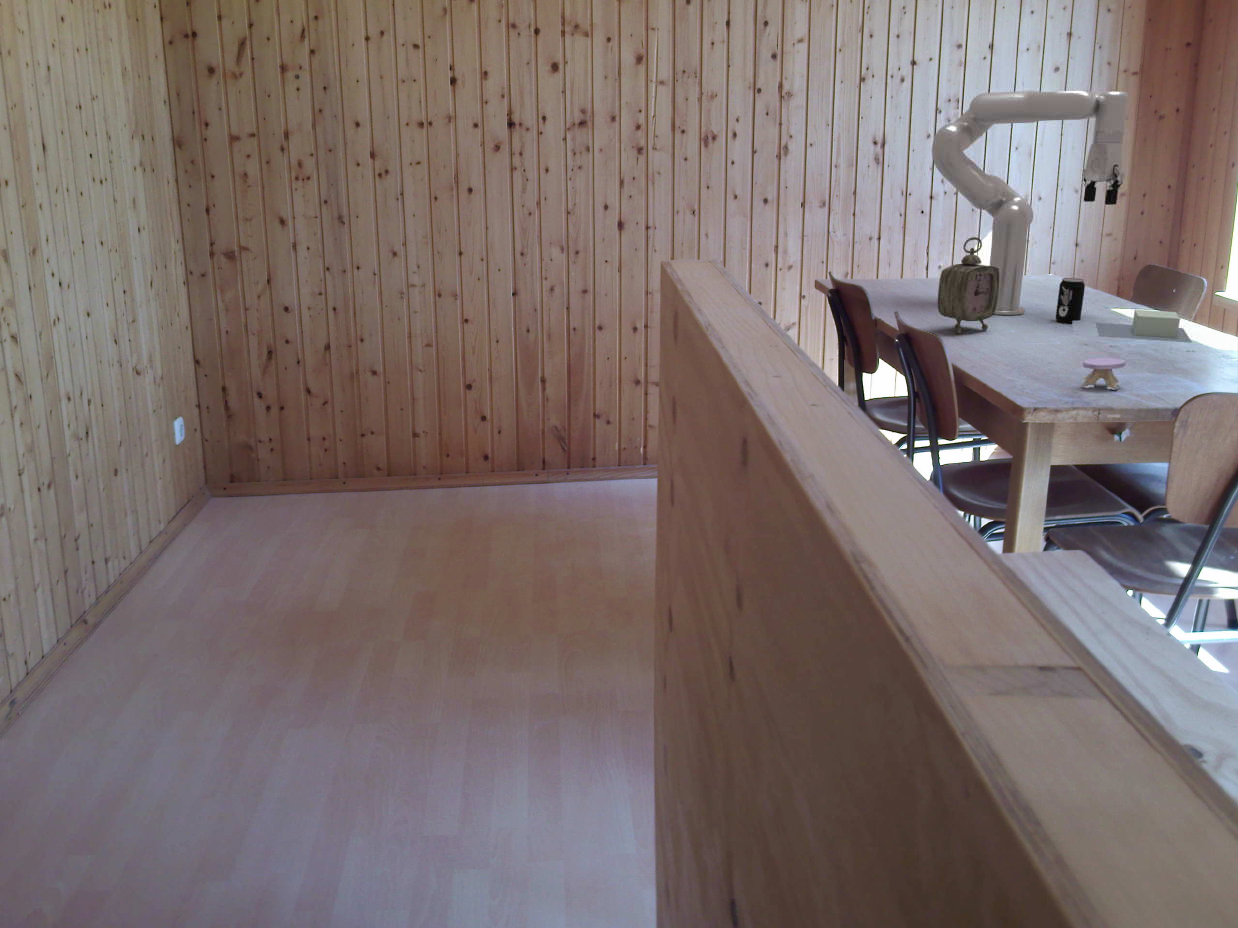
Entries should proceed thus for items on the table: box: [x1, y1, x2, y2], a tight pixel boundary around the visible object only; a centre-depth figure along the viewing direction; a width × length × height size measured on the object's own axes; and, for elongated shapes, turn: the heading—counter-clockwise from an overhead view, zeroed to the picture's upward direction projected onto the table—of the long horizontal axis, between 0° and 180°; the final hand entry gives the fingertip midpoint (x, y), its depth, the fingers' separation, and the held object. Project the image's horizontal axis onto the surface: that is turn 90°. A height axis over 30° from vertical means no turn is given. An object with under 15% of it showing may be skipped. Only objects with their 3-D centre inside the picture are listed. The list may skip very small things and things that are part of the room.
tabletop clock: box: [937, 236, 999, 335], centre depth 300 cm, size 14×9×25 cm, turn 123°
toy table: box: [1082, 357, 1126, 390], centre depth 244 cm, size 10×9×6 cm
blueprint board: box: [1095, 322, 1193, 343], centre depth 298 cm, size 22×20×1 cm
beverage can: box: [1055, 277, 1086, 325], centre depth 315 cm, size 7×7×12 cm
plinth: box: [1132, 309, 1181, 338], centre depth 297 cm, size 10×10×5 cm
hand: (1099, 203), depth 312 cm, fingers open, 9 cm apart
